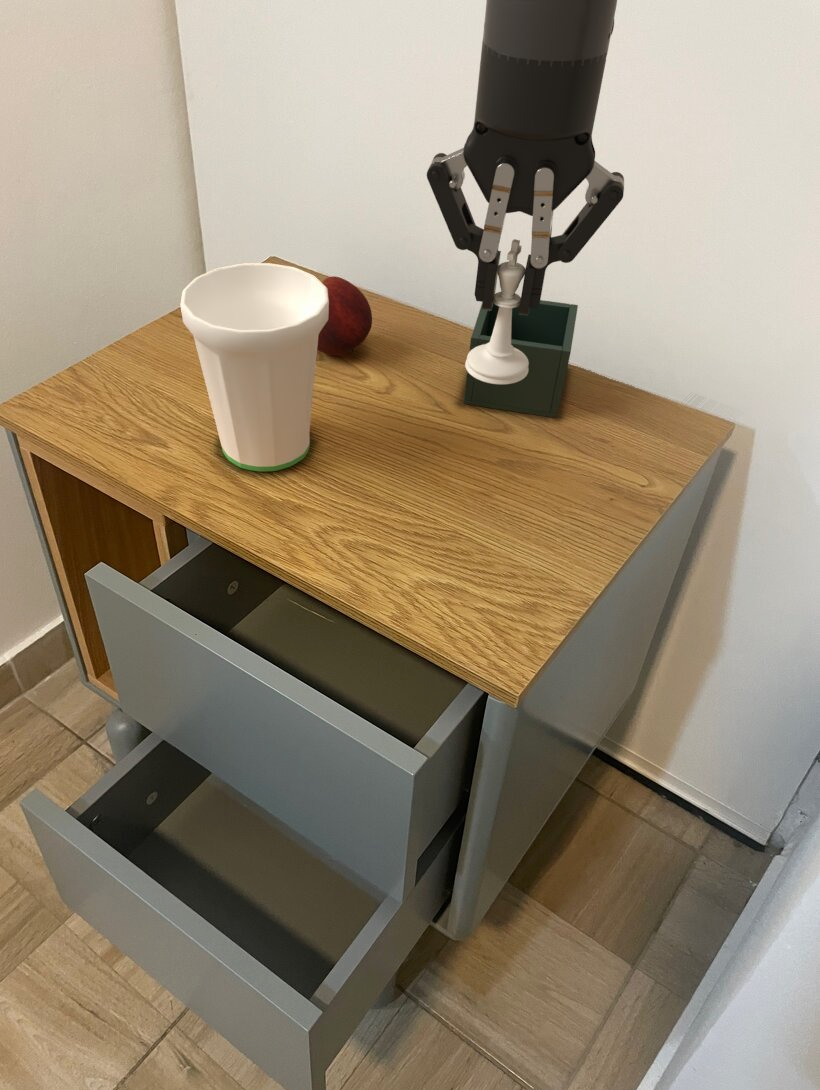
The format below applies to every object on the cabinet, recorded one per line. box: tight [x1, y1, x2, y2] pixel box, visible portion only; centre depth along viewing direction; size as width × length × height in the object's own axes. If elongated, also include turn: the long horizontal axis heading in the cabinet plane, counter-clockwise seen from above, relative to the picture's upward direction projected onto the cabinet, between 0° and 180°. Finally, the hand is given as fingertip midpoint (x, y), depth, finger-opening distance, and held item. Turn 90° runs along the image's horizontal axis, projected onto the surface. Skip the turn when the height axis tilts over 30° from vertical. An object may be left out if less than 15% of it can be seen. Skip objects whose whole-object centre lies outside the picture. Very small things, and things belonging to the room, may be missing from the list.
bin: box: [463, 299, 579, 419], centre depth 90 cm, size 10×10×8 cm
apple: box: [317, 276, 373, 356], centre depth 94 cm, size 7×8×8 cm
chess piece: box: [464, 238, 529, 384], centre depth 65 cm, size 5×5×10 cm
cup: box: [179, 262, 329, 472], centre depth 79 cm, size 12×12×15 cm
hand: (506, 307), depth 65 cm, fingers closed on chess piece
